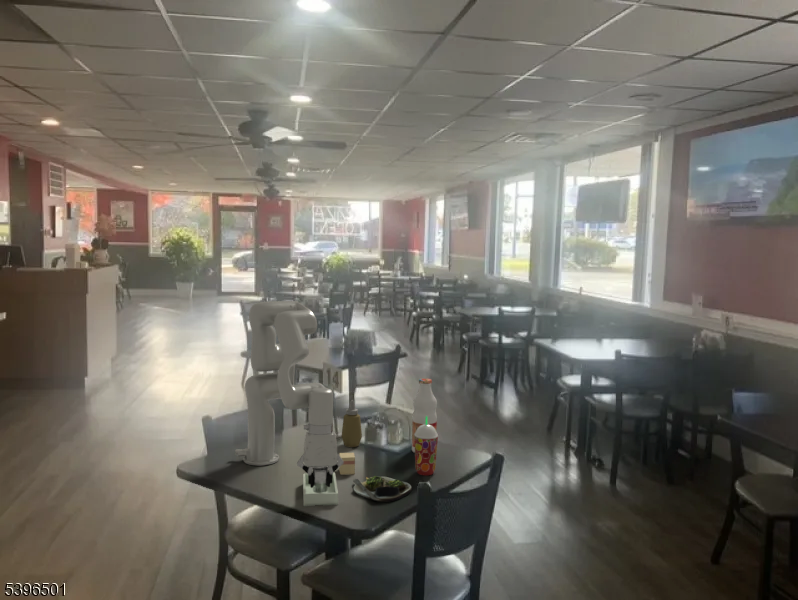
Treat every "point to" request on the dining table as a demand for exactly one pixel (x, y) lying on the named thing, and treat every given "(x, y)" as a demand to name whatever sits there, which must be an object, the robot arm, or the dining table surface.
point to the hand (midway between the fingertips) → (320, 485)
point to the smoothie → (425, 449)
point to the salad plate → (382, 489)
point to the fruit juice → (424, 408)
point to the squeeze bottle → (351, 427)
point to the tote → (320, 498)
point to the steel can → (320, 479)
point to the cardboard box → (347, 463)
